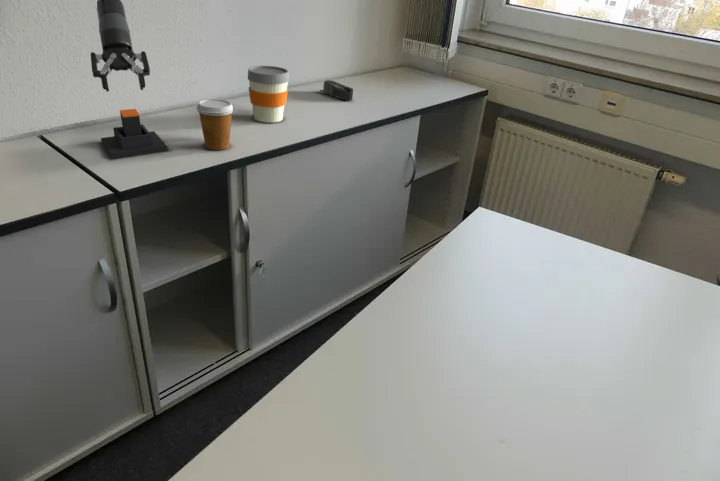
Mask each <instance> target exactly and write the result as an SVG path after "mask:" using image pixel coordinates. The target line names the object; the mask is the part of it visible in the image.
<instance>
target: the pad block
mask: <svg viewBox="0 0 720 481" xmlns="http://www.w3.org/2000/svg"><path fill="white" fill-rule="evenodd" d="M119 114H120V120H121V127H123V133H124V137H128V136H136V135H142V131H141V118H140V114H139V112H138V110H137V108H129V109H120V110H119Z"/></svg>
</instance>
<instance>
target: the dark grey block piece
mask: <svg viewBox="0 0 720 481" xmlns="http://www.w3.org/2000/svg"><path fill="white" fill-rule="evenodd" d="M319 92H321V93H324V94H327V95H329V96H333V97H335V98H337V99H340V100H342V101H348V102H349V101H353V96H354V88H353V87H351V86H348V85H345V84H343V83H341V82H337V81H335V80H331V79H327V80H324V81H323V88H322V89H320V90H319Z"/></svg>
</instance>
